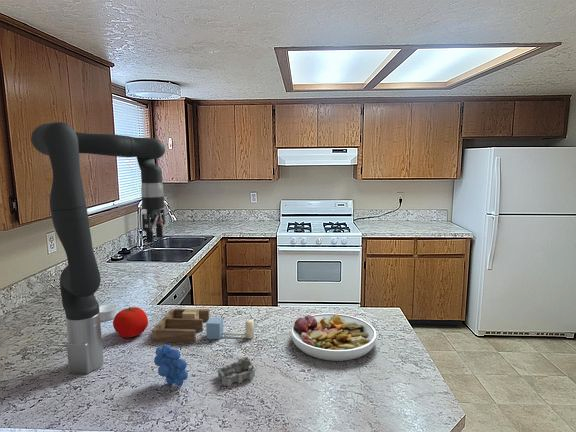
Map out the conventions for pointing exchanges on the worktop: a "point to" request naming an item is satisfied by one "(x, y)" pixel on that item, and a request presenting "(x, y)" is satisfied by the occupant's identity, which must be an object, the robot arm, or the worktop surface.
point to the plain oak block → (190, 314)
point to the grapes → (171, 365)
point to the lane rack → (179, 327)
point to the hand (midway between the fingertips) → (155, 239)
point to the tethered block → (216, 331)
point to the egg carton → (236, 367)
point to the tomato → (130, 322)
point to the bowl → (333, 336)
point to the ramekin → (107, 312)
